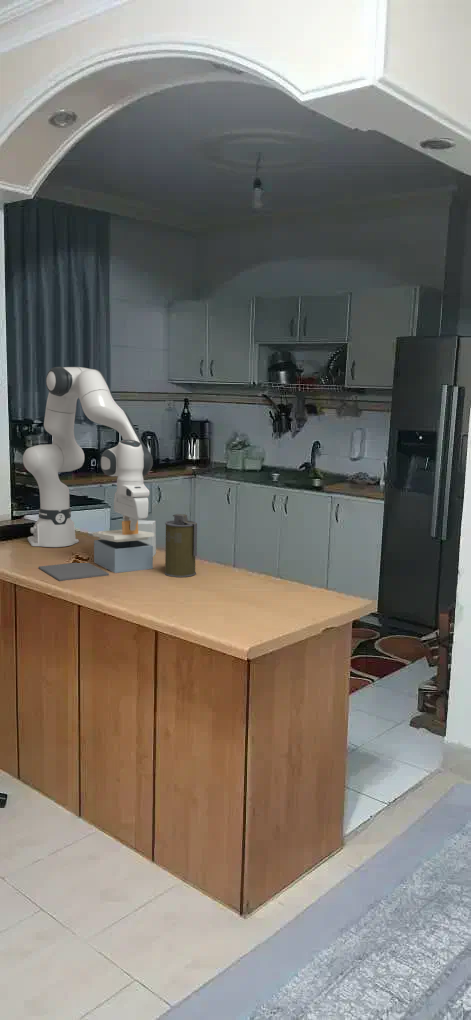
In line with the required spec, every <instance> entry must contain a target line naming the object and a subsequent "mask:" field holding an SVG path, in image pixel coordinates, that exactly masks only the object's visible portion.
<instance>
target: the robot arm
mask: <svg viewBox="0 0 471 1020" xmlns="http://www.w3.org/2000/svg"><path fill="white" fill-rule="evenodd" d="M45 385H46V389H47V391H48V395H47V399H46V405H45V411H44V412H45V413H44V421H43V428H44V429H45V431H46V432H47V433H48V434H49V435H51V436H52V443H50V444H38V445H34V446H30V447H28V448H26V450H25V451H24V452H23V456H22V463H23V466H24V468H25V469H26V470H27V471H28V473H30V474H32V476H33V478H34V479H35V481H36V483H37V485H38V489H39V490H38V491H39V502H40V503H39V504H40V508H39V511H38V519H37V520H36V522H35V523H34V524H33V527H30V530H29V531H30V533H31V534H33V535H31V536H28V537H27V541H28V542H29V544H30V546H32V547H45V548H62V547H69V546H73V545H75V544H77V543H79V542H80V541H79V539H78V538H76V528H75V522H74V521H73V520H72V519H71V517H72V514H71V513H72V511H71V510H72V509H71V507H70V489H69V487H68V485H66V484H65V483H63V482H62V481H61V480H60V477H59V473H66V472H67V473H68V472H73V471H76V470H78V469H80V468H82V467H83V466H84V463H85V453H84V450H83V448H82V447H81V446H80V445H79V444H78V443H77V440H76V437H75V429H74V428H75V419H76V414H77V413H76V412H77V402H78V399H79V402H80V405H81V407H82V411H83V413H84V415H85V416H86V417H87V419H89V420H90V421H91V422H93V423H95V424H99V425H102V426H106V427H108V428H111V429H113V430H115V431H117V432H118V433H119V434H120V436H121V438H122V440H120V441H119V442H118V444H117V445H115V446H114V447H111V448H108V449H105V450H104V451H103V452H102V454H101V456H100V460H99V464H100V465H99V466H100V469H101V471H102V472H103V473H104V474H105V475H106V476H108V477H116V478H117V479H116V491H115V493H114V498H113V511H114V512H115V513H116V514H117V513H118V514H120V515H122V521H129V520H131V522H130V525H129V530H132V531H133V530H135V529H136V523H137V520H146V521H147V518H148V517H149V507H150V506H149V502H150V501H149V498H148V497H150V490H149V489H148V487H146V485H145V484H144V476H146V475H148V473H149V472H150V471H151V469H152V467H153V466H154V461H153V460H154V459H153V456H152V454H151V452H150V450H149V449H148V447H146V445H145V444H144V442H143V441H142V439H141V436H140V434H139V433H138V431H137V429H136V427H135V425H134V424H133V422H132V420H131V418H130V416H129V414H128V413H127V412H126V411H125V410H124V409H123V408H121V407H120V406H119V405H118V404H117V402H116V401H115V400H114V398H113V396H112V393H111V390H110V388H109V386H108V384H107V382H106V378H105V376H104V373H103V372H102V371H100V370H98V369H95V368H87V367H82V366H81V367H80V366H65V367H63V366H54V367H52V368H50V369H49V370H48V372H47V373H46V377H45Z"/></svg>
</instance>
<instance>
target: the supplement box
mask: <svg viewBox="0 0 471 1020" xmlns="http://www.w3.org/2000/svg"><path fill="white" fill-rule="evenodd" d="M156 523H157V522H156V520H147V519H146V520H138V531H145V532H151V533H154V536H153V537H148V539H147V540H140V541H142V542H145V543H147V544H150V545H152V546H153V557H155V555H156V553H157V538H156V537H157V535H156V534H157V531H156V530H157V528H156V527H157V526H156V525H157V524H156Z"/></svg>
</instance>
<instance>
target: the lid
mask: <svg viewBox="0 0 471 1020" xmlns="http://www.w3.org/2000/svg"><path fill="white" fill-rule="evenodd" d="M130 522H131V520H129V521H124V520H121V529H113V530H102V531H101V530H100V531H97V532H96V531H95V532H94V531H93V532H92V537H97V538H98V540H101V539H103V540H108V541H113V542H125V541H136V540H147V539H148V537H153V536H154V533H151V532H145V531H138V520H137V523H136V529H135V530H133V531H132V530H129V525H130Z"/></svg>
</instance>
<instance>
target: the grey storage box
mask: <svg viewBox="0 0 471 1020" xmlns="http://www.w3.org/2000/svg"><path fill="white" fill-rule="evenodd" d="M93 561H94V562H93V563H95V564H97V565H98V566H100V567H103V568H104V569H106V570H107V571H110V572H113V573H114V574H117V573H118V574H119V573H127V572H135V571H137V572H138V571H144V570H153V568H154V565H153V564H154V556H153V546H152V545H150V544H147V543H145V542H142V541H140V540H136V541H125V542H113V541H108V540H103V539H94V540H93Z"/></svg>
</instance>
